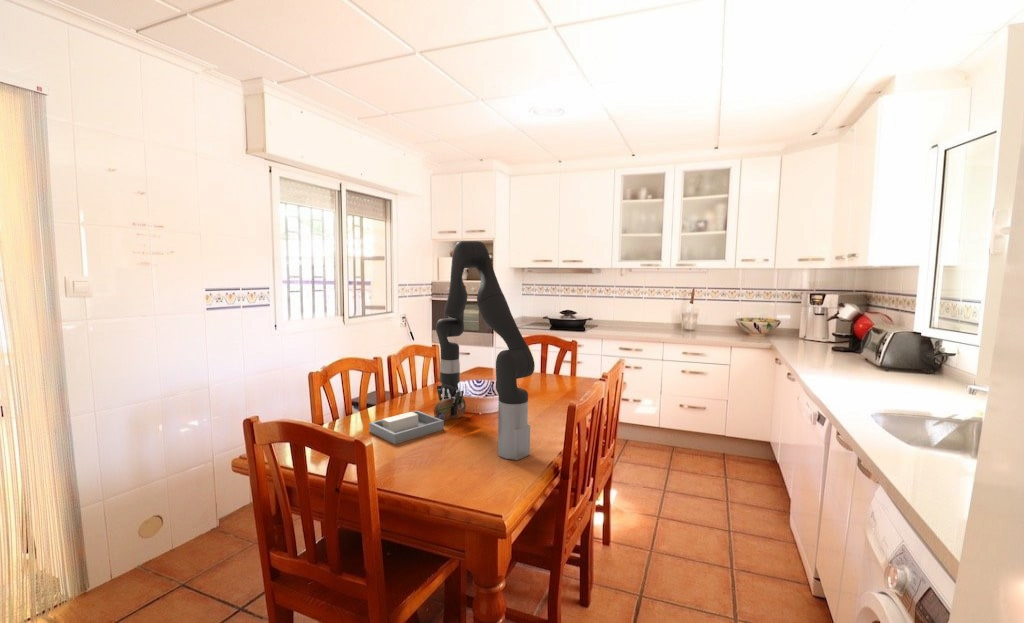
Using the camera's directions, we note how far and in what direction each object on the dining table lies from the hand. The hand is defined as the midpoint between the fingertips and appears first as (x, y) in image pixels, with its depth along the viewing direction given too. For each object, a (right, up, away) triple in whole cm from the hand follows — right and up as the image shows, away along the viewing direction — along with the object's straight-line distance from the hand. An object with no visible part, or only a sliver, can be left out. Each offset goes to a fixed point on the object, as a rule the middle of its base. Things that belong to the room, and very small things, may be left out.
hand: (449, 413), depth 176 cm
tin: (0, -2, 0) cm, 2 cm away
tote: (-13, -3, -15) cm, 20 cm away
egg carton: (-16, -2, -12) cm, 20 cm away
